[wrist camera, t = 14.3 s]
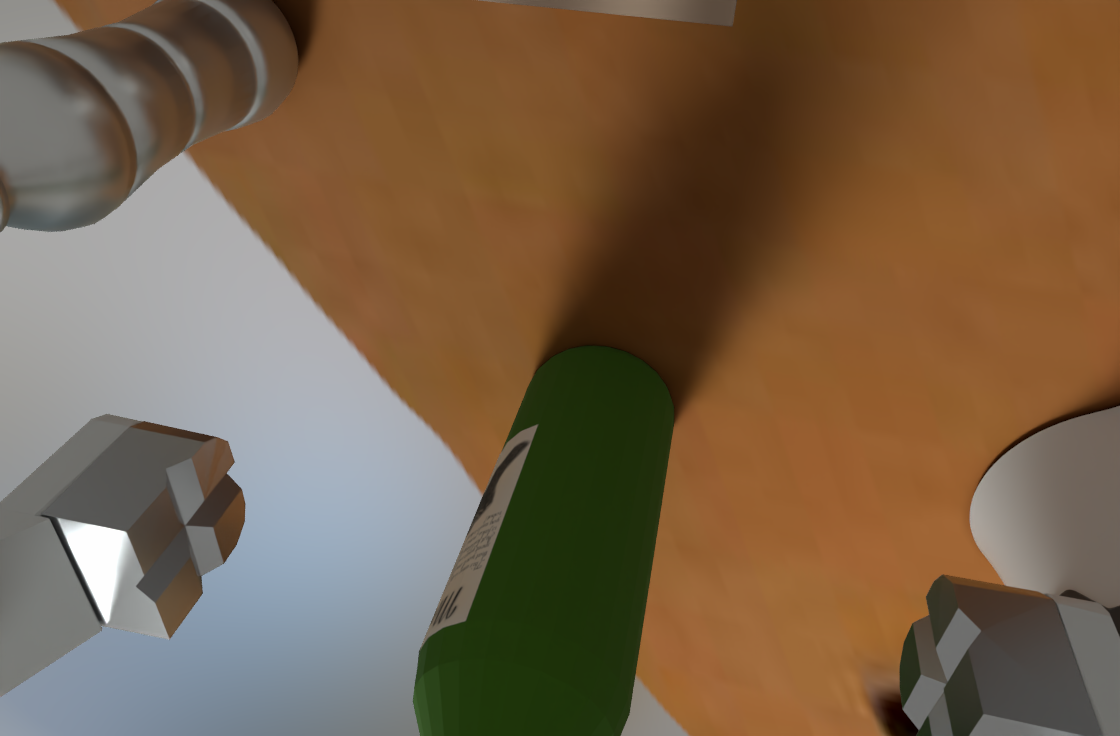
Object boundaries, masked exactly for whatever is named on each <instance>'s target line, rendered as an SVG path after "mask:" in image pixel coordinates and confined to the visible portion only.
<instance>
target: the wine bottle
mask: <svg viewBox="0 0 1120 736" xmlns="http://www.w3.org/2000/svg"><path fill="white" fill-rule="evenodd" d="M673 427H674V406H673V403H672V400H671V397H670V394H669V391H668V388H667V386H666V385H665V383H664V382H663V380H662V379H661V378H660V376H659V375H658V373H657V372H656V371H655V370H653V369H652V368H651V367H650V366H649V365H648V364H646V363H645V362H644V361H643V360H641V359H639V358H637V357H635V356H633V355H631V354H629V353H627V352H626V351H622V350H618V349H614V348H611V347H607V346H588V345H587V346H582V347H576V348H571V349H568V350H565V351H563V352H561V353H559V354H557V355H555V356H553V357H552V358H550V359H549V360H548V361H547V362H546V363H545V364H544V365H542V366H541V367H540V368H539V369H538V370H537V372H536V373H535V375H534V377H533V378H532V380H531V382H530V384H529V386H528V389H527V391H526V393H525V396H524V398H523V401H522V403H521V406H520V408H519V411H518V413H517V415H516V418H515V420H514V423H513V425H512V428H511V430H510V433H509V435H508V437H507V440H506V442H505V445H504V447H503V450H502V452H501V454H500V456H499V458H498V460H497V463H496V465H495V468H494V470H493V473H492V475H491V477H490V480H489V482H488V485H487V487H486V490H485V492H484V494H483V497H482V499H481V502H480V504H479V507H478V509H477V512H476V514H475V516H474V519H473V522H472V524H471V526H470V529H469V531H468V533H467V536H466V538H465V541H464V543H463V546H462V548H461V551H460V553H459V556H458V558H457V560H456V563H455V565H454V568H453V570H452V572H451V575H450V577H449V580H448V582H447V585H446V587H445V590H444V592H443V594H442V597H441V599H440V602H439V604H438V607H437V609H436V611H435V614H434V617H433V619H432V621H431V624H430V626H429V629H428V631H427V633H426V636H425V638H424V641H423V643H422V646H421V648H420V650H419V658H418V667H417V674H416V680H415V687H414V696H413V704H414V709H415V714H416V718H417V723H418V727H419V732H420V736H620V735H621V733H622V730H623V728H624V726H625V723H626V721H627V718H628V716H629V713H630V706H631V700H632V693H633V687H634V680H635V674H636V667H637V661H638V654H639V648H640V641H641V635H642V628H643V622H644V615H645V609H646V602H647V596H648V589H649V583H650V576H651V570H652V563H653V557H654V550H655V544H656V537H657V531H658V524H659V518H660V511H661V505H662V498H663V492H664V485H665V479H666V472H667V466H668V459H669V453H670V446H671V440H672V433H673Z"/></svg>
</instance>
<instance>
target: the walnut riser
mask: <svg viewBox="0 0 1120 736" xmlns="http://www.w3.org/2000/svg"><path fill="white" fill-rule="evenodd" d="M480 1H490V2H500V3H510V4H519V5H529V6H539V7H549V8H558V9H568V10H578V11H588V12H597V13H607V14H617V15H627V16H636V17H646V18H656V19H665V20H675V21H685V22H695V23H704V24H714V25H724V26H733V20H734V14H735V8H736V2H737V0H480Z"/></svg>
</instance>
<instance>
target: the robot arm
mask: <svg viewBox="0 0 1120 736" xmlns="http://www.w3.org/2000/svg"><path fill="white" fill-rule="evenodd" d="M233 464H234V459H233V456H232V452H231V449H230V446H229V443H228V441H225V440H223V439H220V438H218V437H214V436H209V435H205V434H199V433H195V432H190V431H186V430H182V429H177V428H173V427H168V426H163V425H159V424H154V423H150V422H145V421H143V422H142V421H137V420H133V419H128V418H123V417H119V416H114V415H110V414H105V415H103V416H99V417H96V418H94V419H91V420H90V421H89V422H88V423H87V424H86V425H85V426H84V427H82V428H81V429H80V430H79V431H78V432H77V433H76V434H75V435H74V436H73V437H71V438H70V439H69V440H68V441H67V442H66V443H65V444H64V445H63V446H62V447H60V448H59V449H58V450H57V451H56V452H55V453H54V454H53V455H52V456H51V457H49V459H47V460H46V461H45V462H44V463H43V464H42V465H41V466H40V467H38V468H37V469H36V470H35V471H34V472H33V473H32V474H31V475H30V476H29V477H28V478H26V479H25V480H24V481H23V482H22V483H21V484H20V485H19V486H18V487H17V488H16V489H15V490H13V491H12V492H11V493H10V494H9V495H8V496H7V497H6V498H4V499H3V500H2V501H1V502H0V697H1V696H3V695H4V694H6V693H7V692H9V691H10V690H12V689H13V688H15V687H16V686H18V685H19V684H21V683H23V682H24V681H26V680H27V679H28V678H30V677H32V676H33V675H35V674H36V673H38V672H39V671H41V670H42V669H44V668H45V667H47V666H48V665H50V664H51V663H53V662H55V661H56V660H58V659H59V658H61V657H62V656H64V655H65V654H67V653H68V652H70V651H71V650H73V649H74V648H76V647H77V646H79V645H81V644H82V643H84V642H85V641H87V640H88V639H90V638H91V637H93V636H94V635H96V634H97V633H99V632H100V631H102V627H101V626H105V627H110V628H115V629H120V630H125V631H130V632H135V633H139V634H144V635H149V636H154V637H160V638H165V639H170V638H171V637H172V635H173V634H174V633H175V631H176V630H177V628H178V627H179V626H180V624H181V623H182V621H183V620H184V619H185V617H186V616H187V614H188V613H189V612H190V610H191V609H192V607H193V606H194V605H195V603H196V602H197V601H198V599H199V598H200V596H201V595H202V594H203V591H202V577H201V576H202V575H204V574H206V573H207V572H209V571H211V570H213V569H215V568H217V567H219V566H220V565H222V564H224V563H225V561H226V560H227V558H228V557H229V555H230V554H231V552H232V550H233V549H234V548H235V546H236V545H237V542H238V539H239V537H240V534H241V530H242V528H243V525H244V522H245V501H244V497H243V492H242V489H241V488H240V487H239V486H238V485H237V484H236V483H235V482H234V480H233V479H232V478H231V477H230V476H229V475H228V474H227V472H228V470H229V469H230V468H231V466H232V465H233ZM970 526H971V531H972V534H973V537H974V540H975V542H976V544H977V546H978V547H979V549H980V550H981V552H982V553H983V554H984V556H985V557H986V558H987V560H988V561H989V562H990V563H991V565H992V566H993V568H994V569H995V570H996V572H997V573H998V575H999V576H1000V578H1001V579H1002V581H1003V583H1004V584H1005V585H999V584H993V583H988V582H982V581H977V580H971V579H966V578H960V577H954V576H949V575H941V576H940V577H939V578H938V579H936V580H935V581H934V583H933V584H932V586H931V588H930V590H929V592H928V594H927V596H926V599H927V605H928V610H929V615H928V616H926V617H924V618H922V619H920V620H918V621H916V622H914V623H912V626H911V628H910V630H909V632H908V635H907V637H906V639H905V641H904V645H903V651H902V656H901V662H900V693H901V700H902V708H903V710H904V712H905V713H906V714H907V715H908V717H909V718H910V719H911V720H912V722H913V723H914V724H915V726H916V727H917V728H918V729H919V732H918V733H917V735H916V736H1120V406H1117V407H1114V408H1111V409H1107V410H1103V411H1099V412H1095V413H1091V414H1087V415H1084V416H1080V417H1076V418H1073V419H1070V420H1067V421H1064V422H1061V423H1059V424H1056V425H1054V426H1051V427H1049V428H1047V429H1044V430H1042V431H1040V432H1038V433H1036V434H1034V435H1033V436H1031V437H1029V438H1027V439H1026V440H1024V441H1022V442H1021V443H1019V444H1018V445H1016V446H1015V447H1013V448H1012V449H1011V450H1009V451H1008V452H1007V453H1006V454H1004V455H1003V456H1002V457H1001V458H1000V459H999V460H998V461H997V462H996V463H995V464H994V465H993V466H992V467H991V468H990V469H989V471H988V472H987V473H986V474H985V476H984V477H983V479H982V480H981V482H980V483H979V485H978V487H977V489H976V491H975V494H974V496H973V499H972V503H971V508H970Z"/></svg>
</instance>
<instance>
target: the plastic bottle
mask: <svg viewBox="0 0 1120 736" xmlns="http://www.w3.org/2000/svg"><path fill="white" fill-rule="evenodd" d="M297 73H298V51H297V46H296V42H295V38H294V35H293V33H292V30H291V28H290V26H289V23H288V22H287V20H286V18H285V17H284V15H283V14H282V12H281V11H280V9H279V8H278V7H277V6H276V5H275V3H274V2H273V1H272V0H157V1H156V2H155V3H154V4H153V5H151V6H149V7H147V8H145V9H144V10H142V11H140V12H138V13H136V14H134V15H132V16H130V17H128V18H126V19H124V20H122V21H120V22H117V23H113V24H109V25H105V26H103V27H100V28H94V29H90V30H86V31H82V32H78V33H74V34H70V35H64V36H55V37H46V38H38V39H29V40H21V41H11V42H2V43H0V232H2V231H3V229H4V228H5V227H6V226H8V227H13V228H18V229H24V230H36V231H46V232H55V231H56V232H57V231H66V230H71V229H76V228H81V227H85V226H88V225H92V224H95V223H96V222H98V221H100V220H101V219H103V218H105V217H106V216H107V215H108V214H110V213H111V212H112V211H114V210H115V209H116V208H118V207H119V206H120V205H121V204H122V203H123V202H124V201H125V200H126V199H127V198H128V197H129V196H131V195H132V193H134V192H135V191H136V190H137V189H138V188H139V187H140V186H141V185H142V184H143V183H144V182H145V181H146V180H147V179H148V178H149V177H150V176H152V175H153V174H154V172H156V171H157V170H158V169H159V168H160V167H162V166H163V165H165V164H166V163H168V162H169V161H170V160H171V159H173V158H175V157H176V156H178V155H179V154H180V153H181V152H183V151H184V150H186V149H187V148H189V147H190V146H191V145H194V144H196V143H198V142H201V141H203V140H205V139H207V138H210V137H212V136H214V135H217V134H219V133H221V132H223V131H228V130H233V129H237V128H241V127H244V126H247V125H250V124H252V123H255V122H258V121H261V120H263V119H265V118H266V117H268V116H269V115H271V114H272V113H273V112H274V111H275V110H276V109H277V108H278V107H279V106H280V104H281V103H282V102H283V101H284V100H285V99H286V97H287V96H288V95H289V93H290V92H291V90H292V88H293V86H294V84H295V80H296V77H297Z"/></svg>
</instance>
